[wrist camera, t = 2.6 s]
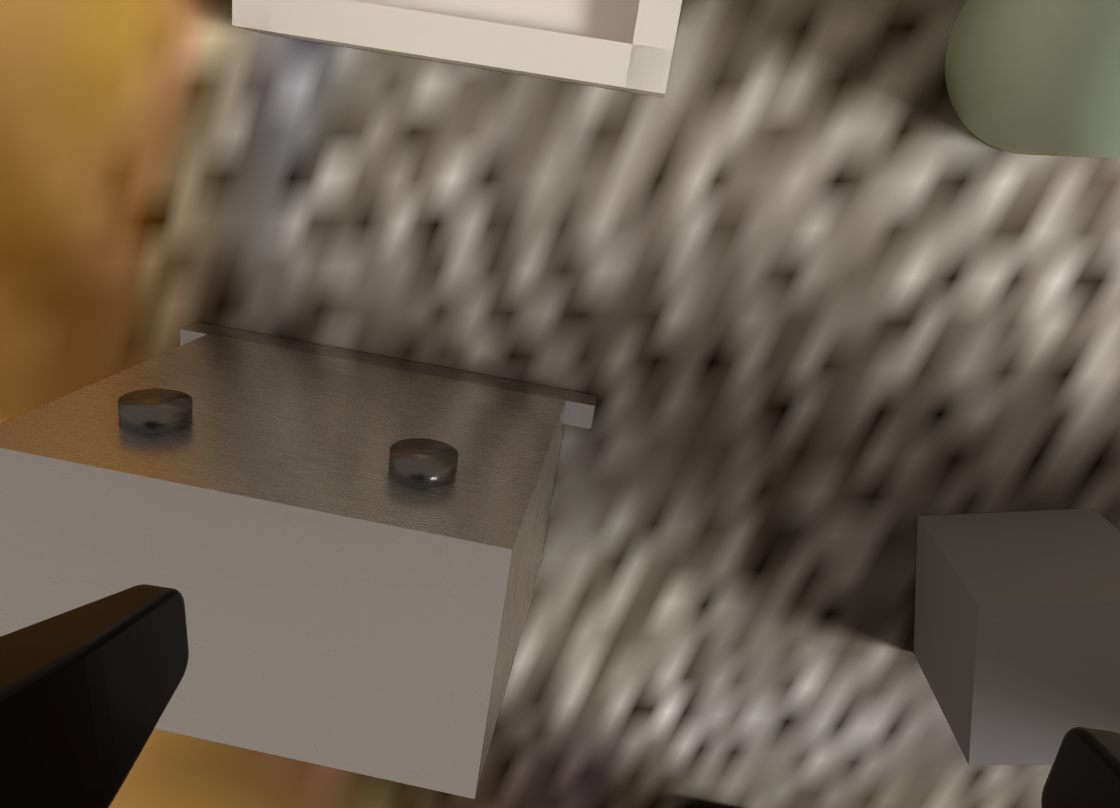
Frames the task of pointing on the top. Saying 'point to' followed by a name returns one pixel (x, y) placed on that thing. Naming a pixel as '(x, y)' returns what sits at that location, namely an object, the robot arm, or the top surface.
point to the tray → (493, 34)
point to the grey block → (1019, 628)
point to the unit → (300, 539)
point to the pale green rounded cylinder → (1038, 75)
